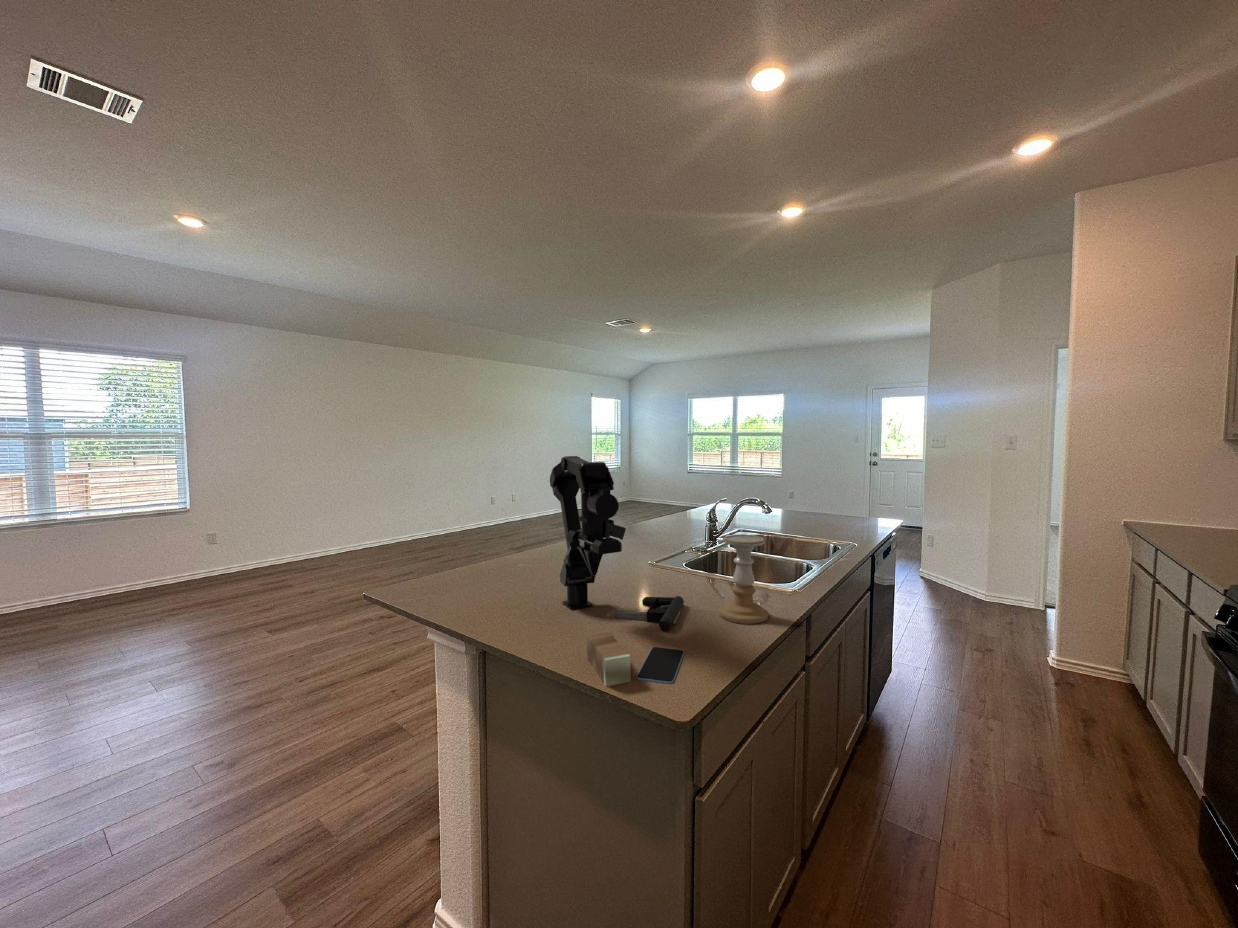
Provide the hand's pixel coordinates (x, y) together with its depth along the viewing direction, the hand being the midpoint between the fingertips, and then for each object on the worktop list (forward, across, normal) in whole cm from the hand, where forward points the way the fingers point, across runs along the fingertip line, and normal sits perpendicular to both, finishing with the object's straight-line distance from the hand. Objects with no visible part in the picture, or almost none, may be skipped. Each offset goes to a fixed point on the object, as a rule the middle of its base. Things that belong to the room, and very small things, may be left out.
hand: (593, 574), depth 125 cm
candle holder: (+12, -16, -35) cm, 40 cm away
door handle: (+13, -3, -15) cm, 20 cm away
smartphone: (+13, -28, -1) cm, 31 cm away
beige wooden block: (+10, -18, +8) cm, 22 cm away
